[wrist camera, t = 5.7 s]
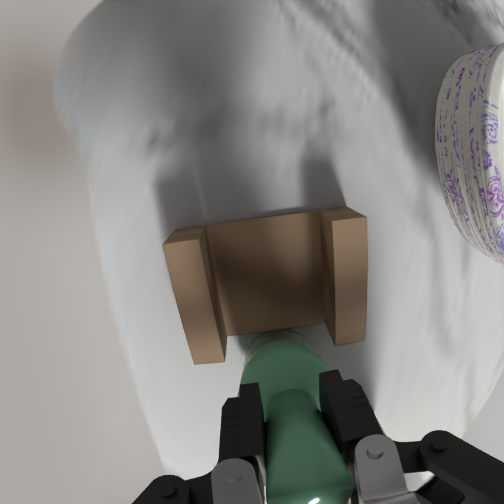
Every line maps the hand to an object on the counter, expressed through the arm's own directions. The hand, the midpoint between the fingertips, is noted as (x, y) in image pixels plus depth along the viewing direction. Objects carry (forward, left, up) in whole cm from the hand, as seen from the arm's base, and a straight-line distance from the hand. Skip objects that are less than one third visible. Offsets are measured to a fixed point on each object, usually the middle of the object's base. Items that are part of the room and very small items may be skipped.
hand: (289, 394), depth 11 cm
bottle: (+5, 0, -9) cm, 10 cm away
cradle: (-1, 0, -10) cm, 10 cm away
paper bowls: (-9, +18, -10) cm, 22 cm away
